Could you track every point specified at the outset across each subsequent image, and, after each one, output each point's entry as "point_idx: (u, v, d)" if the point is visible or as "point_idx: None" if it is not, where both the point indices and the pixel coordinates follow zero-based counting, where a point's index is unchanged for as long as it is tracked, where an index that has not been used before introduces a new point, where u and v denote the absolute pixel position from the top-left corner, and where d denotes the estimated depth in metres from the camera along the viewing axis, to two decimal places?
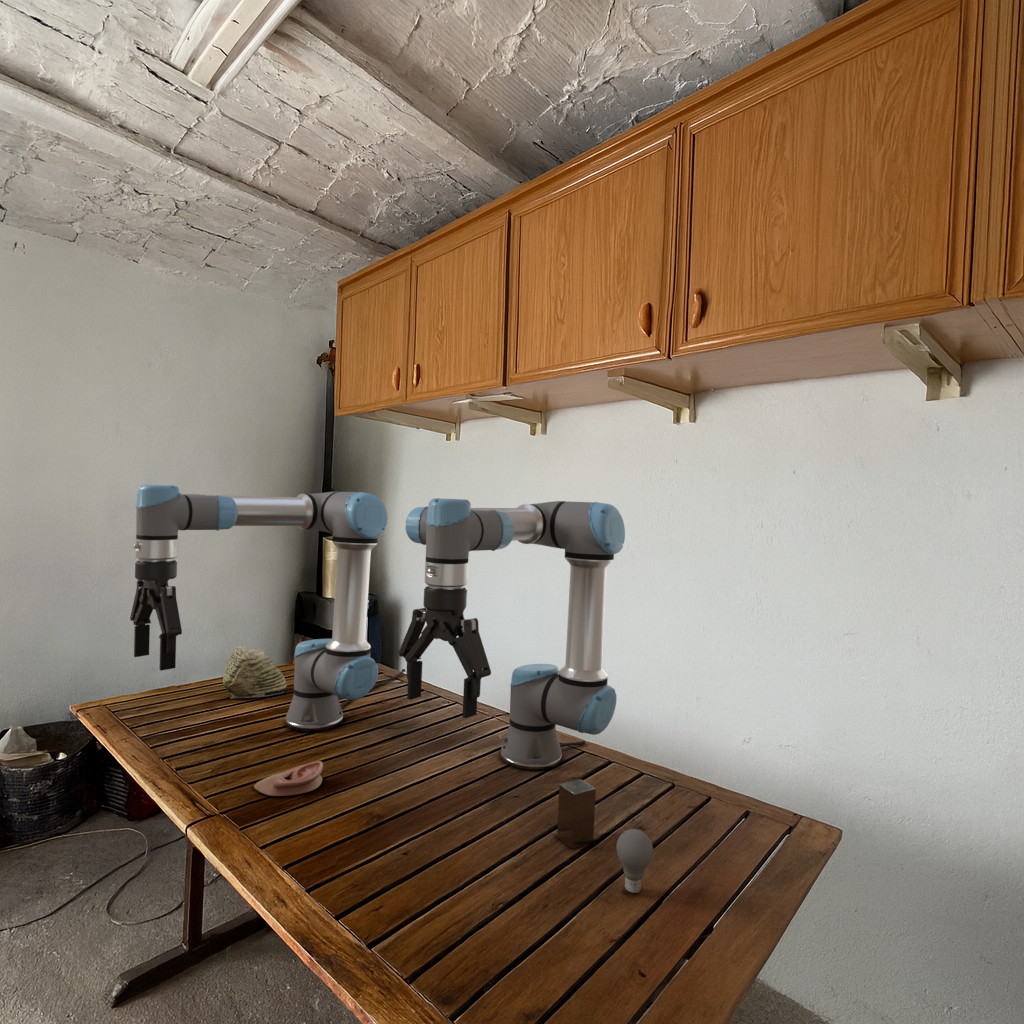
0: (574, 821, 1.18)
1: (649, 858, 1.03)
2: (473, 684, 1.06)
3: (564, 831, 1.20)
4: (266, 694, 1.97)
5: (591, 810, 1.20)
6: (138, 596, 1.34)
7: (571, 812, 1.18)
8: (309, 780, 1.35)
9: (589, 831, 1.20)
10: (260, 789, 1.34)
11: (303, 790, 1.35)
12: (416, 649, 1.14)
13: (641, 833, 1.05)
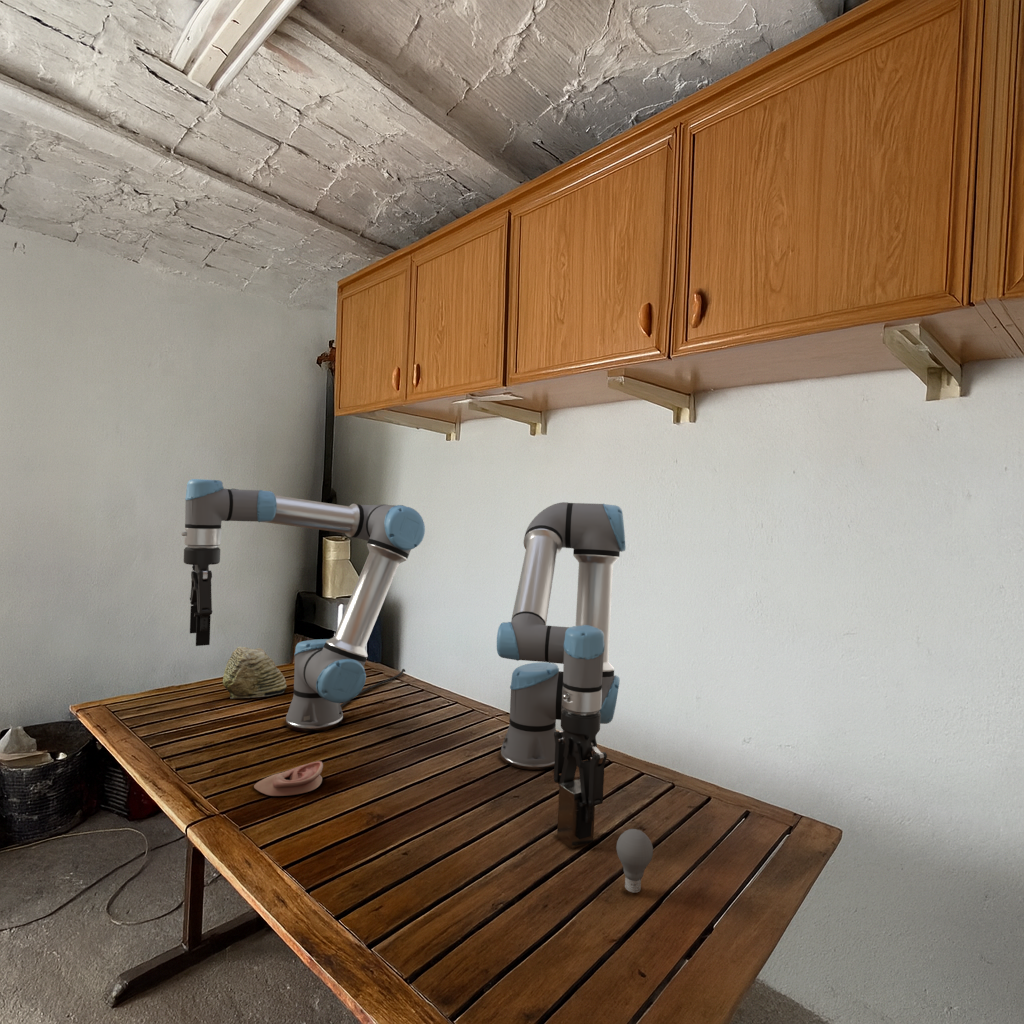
0: (574, 821, 1.18)
1: (649, 858, 1.03)
2: (586, 809, 1.17)
3: (564, 831, 1.20)
4: (266, 694, 1.97)
5: None
6: None
7: (571, 812, 1.18)
8: (309, 780, 1.35)
9: None
10: (260, 789, 1.34)
11: (303, 790, 1.35)
12: (564, 773, 1.22)
13: (641, 833, 1.05)
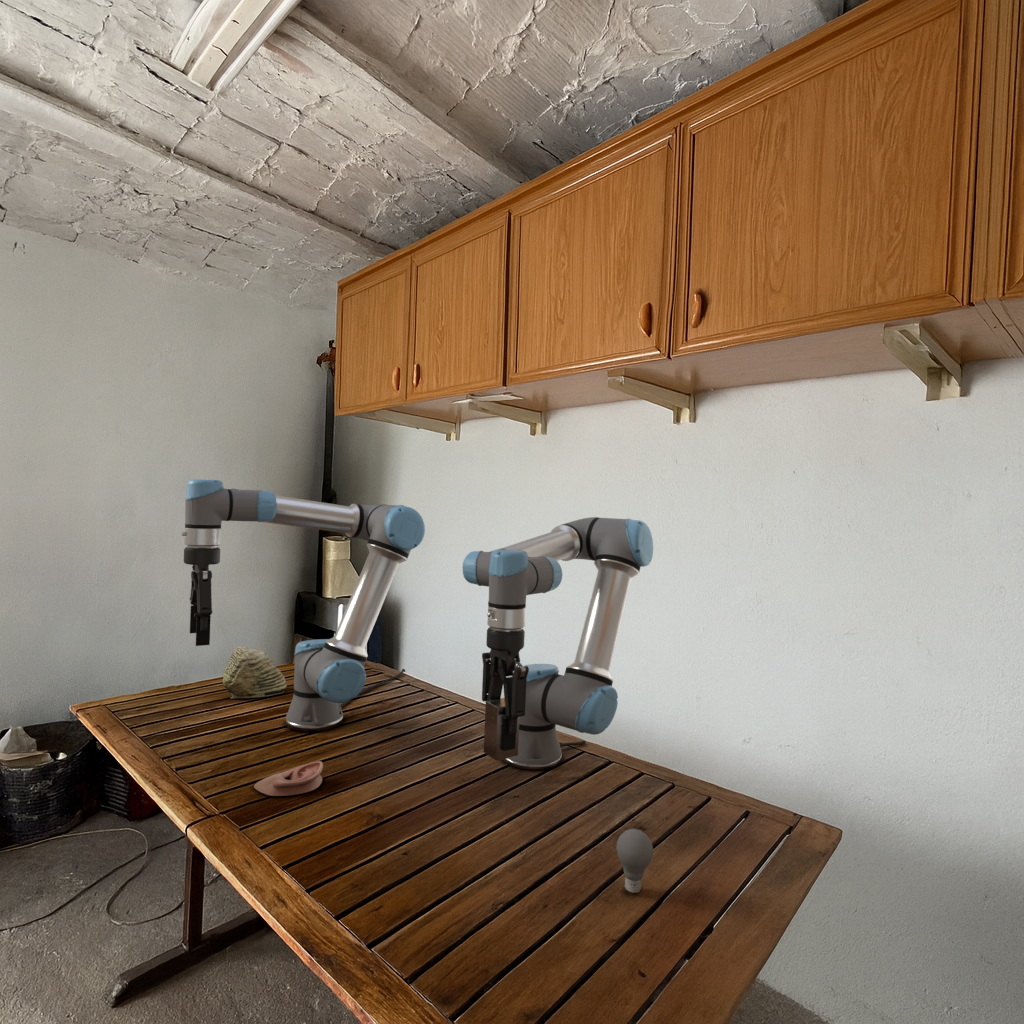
0: (499, 733, 1.23)
1: (649, 858, 1.03)
2: (510, 722, 1.22)
3: (489, 745, 1.25)
4: (266, 694, 1.97)
5: None
6: None
7: (496, 725, 1.23)
8: (309, 780, 1.35)
9: None
10: (260, 789, 1.34)
11: (303, 790, 1.35)
12: (491, 691, 1.27)
13: (641, 833, 1.05)
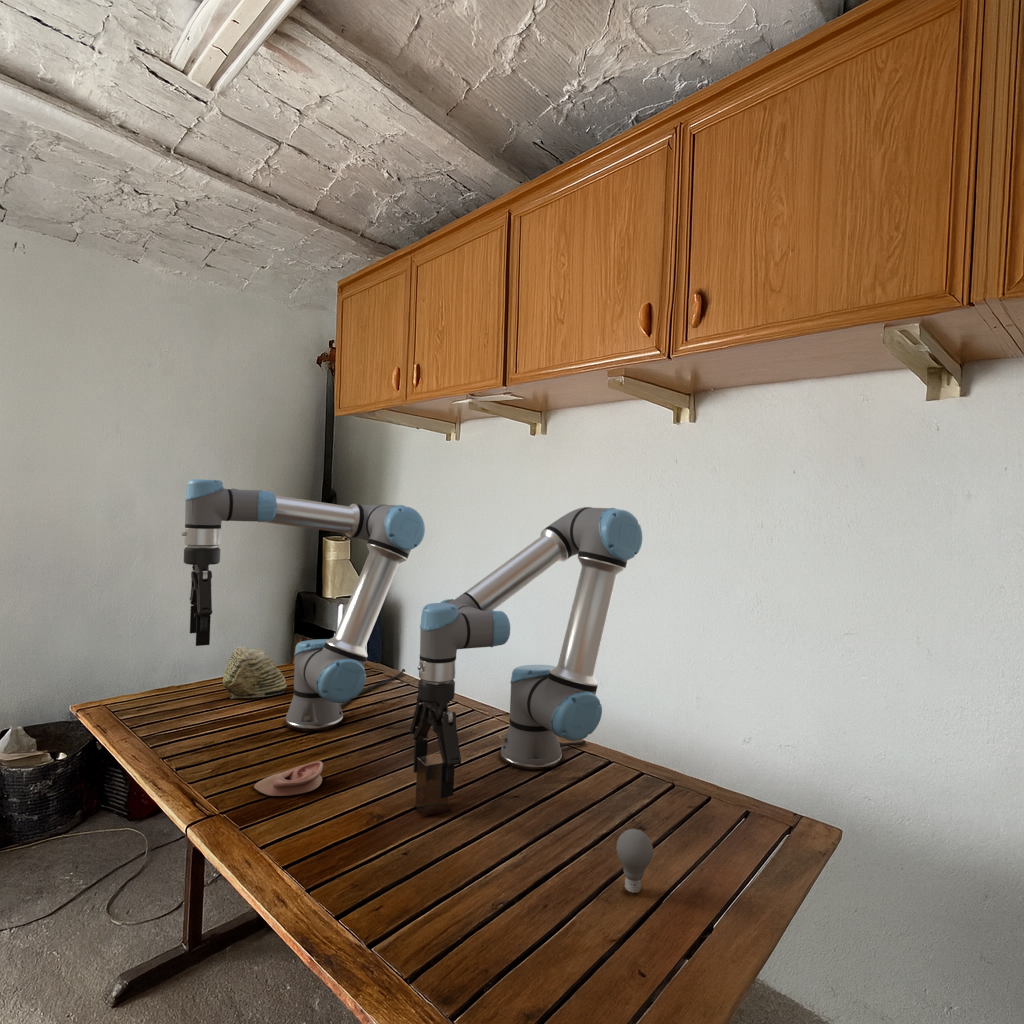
0: (427, 790, 1.27)
1: (649, 858, 1.03)
2: (447, 770, 1.24)
3: (419, 801, 1.29)
4: (266, 694, 1.97)
5: None
6: None
7: (424, 783, 1.28)
8: (309, 780, 1.35)
9: (443, 800, 1.29)
10: (260, 789, 1.34)
11: (303, 790, 1.35)
12: (418, 730, 1.34)
13: (641, 833, 1.05)
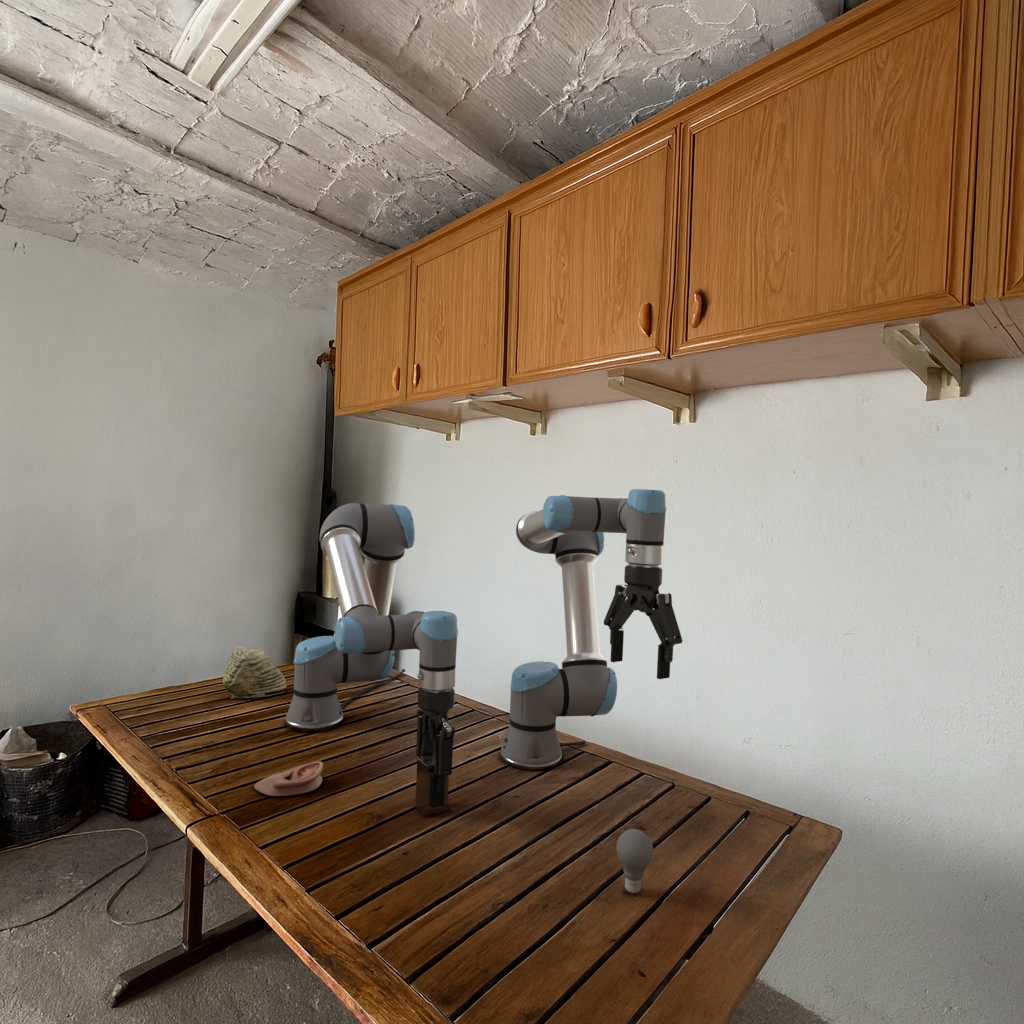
0: (427, 790, 1.27)
1: (649, 858, 1.03)
2: (666, 650, 1.22)
3: (419, 801, 1.29)
4: (266, 694, 1.97)
5: (445, 781, 1.30)
6: (420, 726, 1.34)
7: (424, 783, 1.28)
8: (309, 780, 1.35)
9: None
10: (260, 789, 1.34)
11: (303, 790, 1.35)
12: (618, 619, 1.33)
13: (641, 833, 1.05)
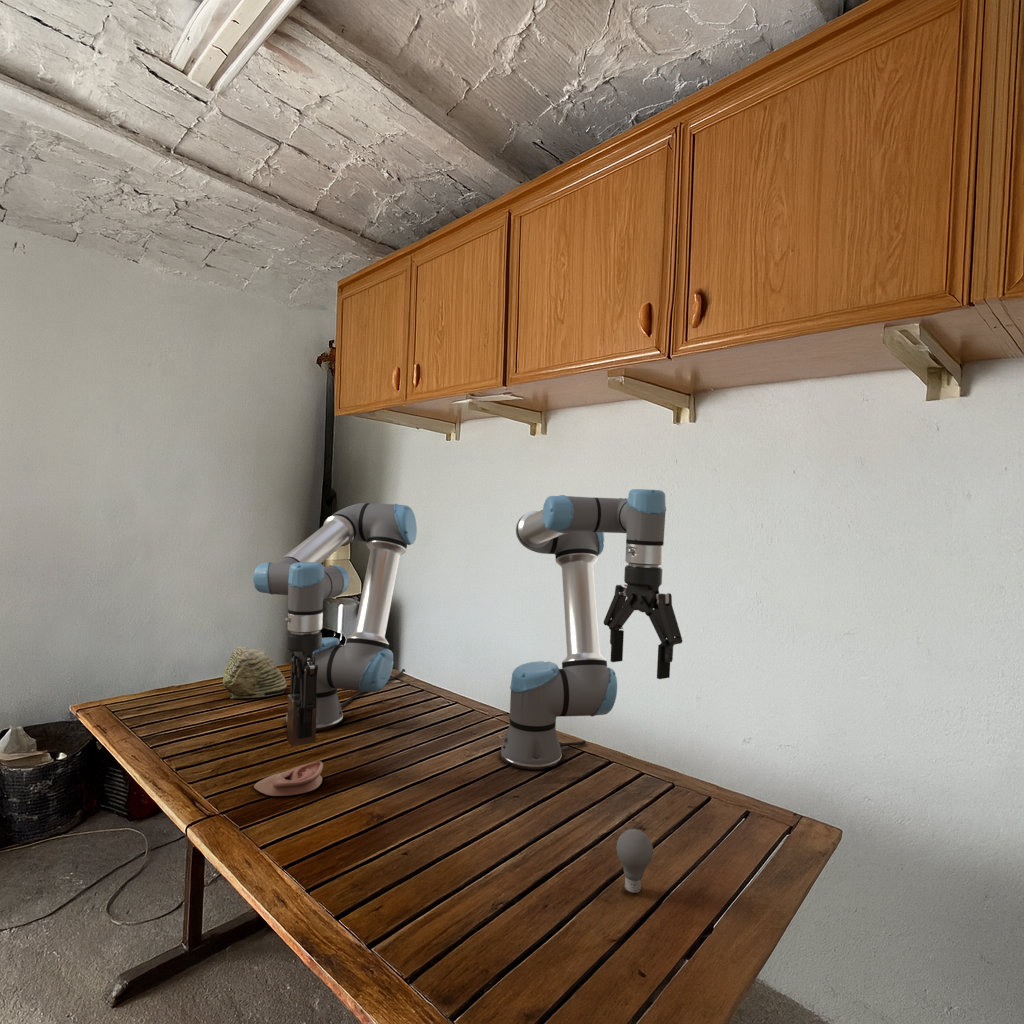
0: (294, 723, 1.40)
1: (649, 858, 1.03)
2: (666, 650, 1.22)
3: (289, 733, 1.42)
4: (266, 694, 1.97)
5: (312, 715, 1.43)
6: (293, 668, 1.47)
7: (292, 716, 1.40)
8: (309, 780, 1.35)
9: None
10: (260, 789, 1.34)
11: (303, 790, 1.35)
12: (618, 619, 1.33)
13: (641, 833, 1.05)
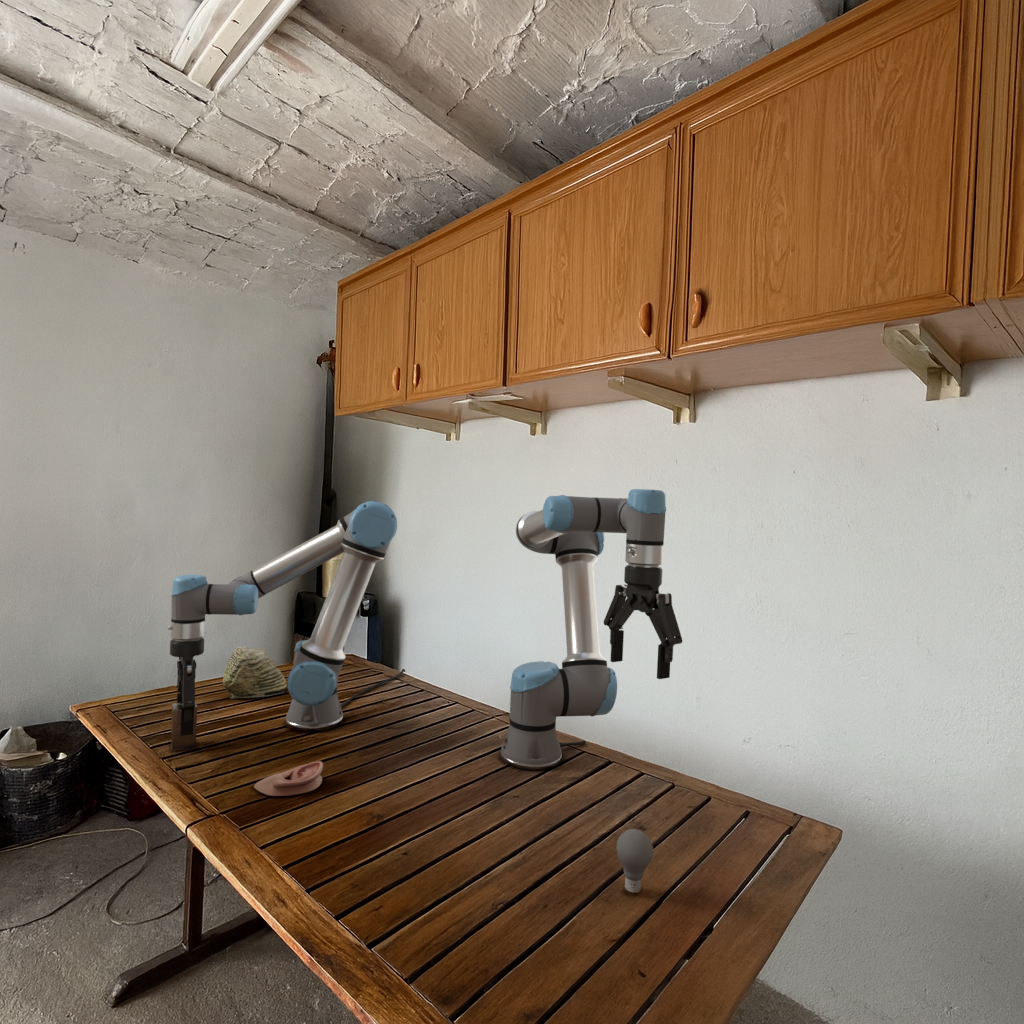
0: (175, 730, 1.53)
1: (649, 858, 1.03)
2: (666, 650, 1.22)
3: (171, 739, 1.55)
4: (266, 694, 1.97)
5: None
6: None
7: (172, 723, 1.53)
8: (309, 780, 1.35)
9: (191, 739, 1.55)
10: (260, 789, 1.34)
11: (303, 790, 1.35)
12: (618, 619, 1.33)
13: (641, 833, 1.05)
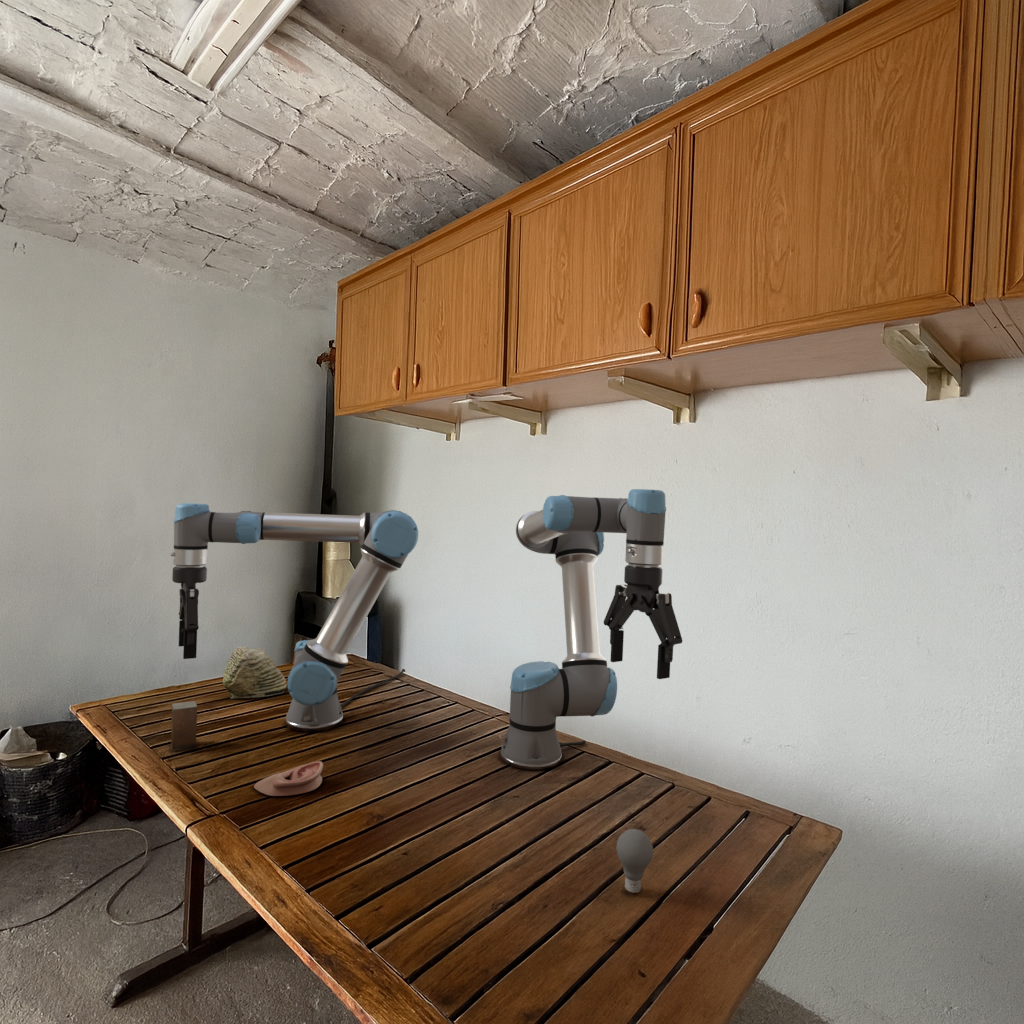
0: (175, 730, 1.53)
1: (649, 858, 1.03)
2: (666, 650, 1.22)
3: (171, 739, 1.55)
4: (266, 694, 1.97)
5: (193, 723, 1.55)
6: None
7: (172, 723, 1.53)
8: (309, 780, 1.35)
9: (191, 739, 1.55)
10: (260, 789, 1.34)
11: (303, 790, 1.35)
12: (618, 619, 1.33)
13: (641, 833, 1.05)
